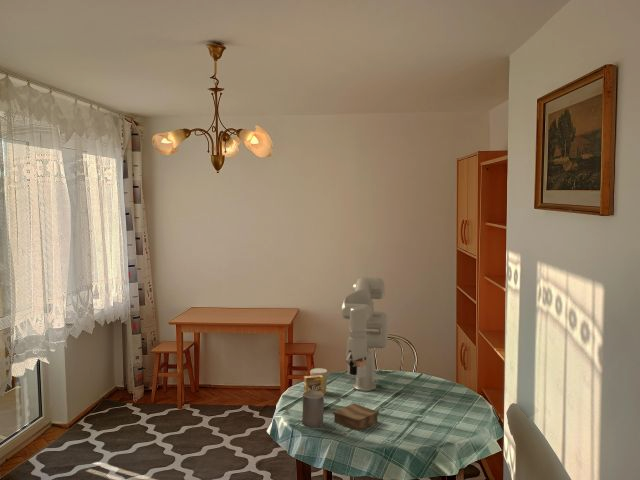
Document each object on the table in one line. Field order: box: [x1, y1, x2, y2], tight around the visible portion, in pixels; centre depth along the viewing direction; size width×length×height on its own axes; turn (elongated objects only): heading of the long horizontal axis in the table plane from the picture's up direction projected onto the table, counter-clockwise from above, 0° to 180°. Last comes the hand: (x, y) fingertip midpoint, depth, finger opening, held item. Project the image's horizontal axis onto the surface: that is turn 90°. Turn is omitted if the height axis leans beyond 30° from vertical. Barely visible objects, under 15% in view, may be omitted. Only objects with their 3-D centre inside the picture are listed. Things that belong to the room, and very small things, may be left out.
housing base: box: [346, 363, 366, 378], centre depth 266 cm, size 5×7×5 cm
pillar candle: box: [301, 391, 325, 428], centre depth 265 cm, size 10×10×15 cm
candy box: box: [303, 375, 323, 393], centre depth 287 cm, size 9×4×15 cm, turn 107°
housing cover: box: [352, 358, 366, 367], centre depth 266 cm, size 4×7×2 cm, turn 48°
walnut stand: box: [332, 403, 380, 432], centre depth 268 cm, size 15×15×5 cm
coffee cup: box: [309, 367, 329, 395], centre depth 308 cm, size 9×9×12 cm
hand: (356, 372), depth 266 cm, fingers closed on housing base, 5 cm apart
